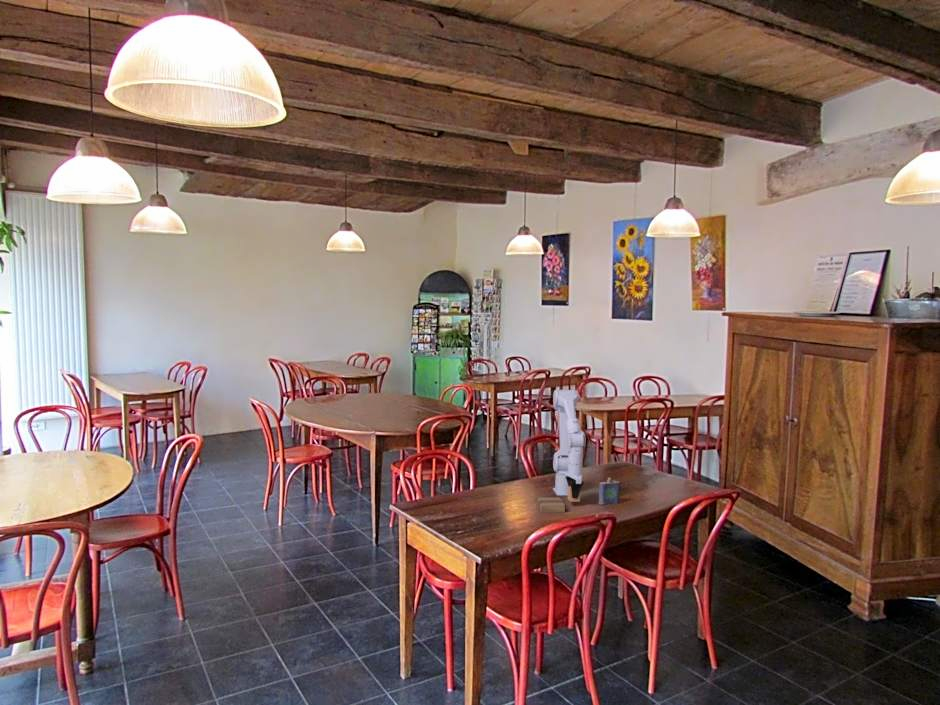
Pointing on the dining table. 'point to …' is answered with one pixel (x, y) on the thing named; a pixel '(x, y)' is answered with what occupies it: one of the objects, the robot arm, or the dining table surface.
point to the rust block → (571, 495)
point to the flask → (609, 492)
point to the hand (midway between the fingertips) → (573, 496)
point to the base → (551, 505)
